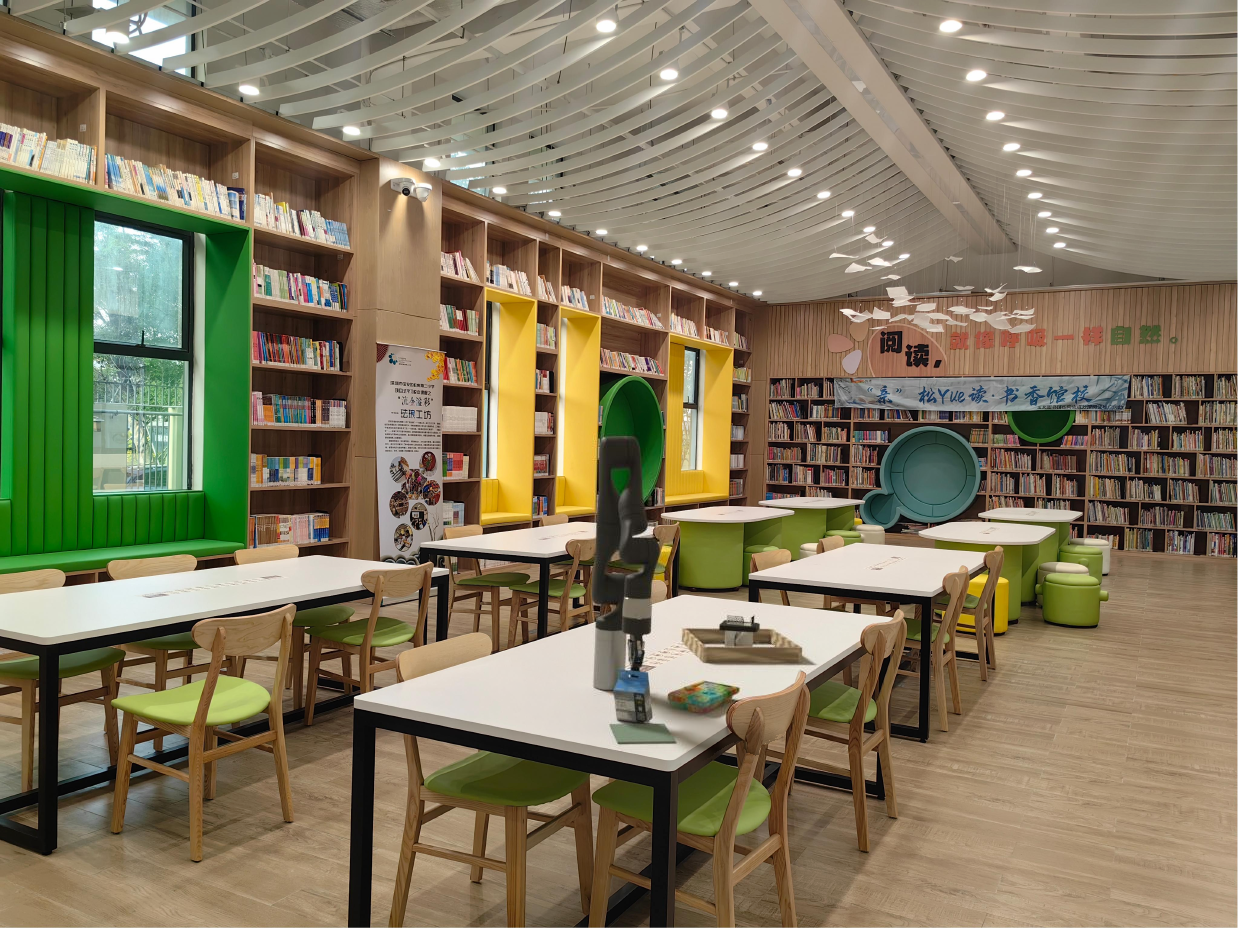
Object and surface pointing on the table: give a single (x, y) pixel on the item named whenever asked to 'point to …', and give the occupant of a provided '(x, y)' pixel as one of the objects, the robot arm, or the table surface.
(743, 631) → the black-topped pedestal
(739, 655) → the holder frame
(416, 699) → the table surface
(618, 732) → the mat
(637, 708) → the label tape cartridge
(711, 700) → the puzzle game
